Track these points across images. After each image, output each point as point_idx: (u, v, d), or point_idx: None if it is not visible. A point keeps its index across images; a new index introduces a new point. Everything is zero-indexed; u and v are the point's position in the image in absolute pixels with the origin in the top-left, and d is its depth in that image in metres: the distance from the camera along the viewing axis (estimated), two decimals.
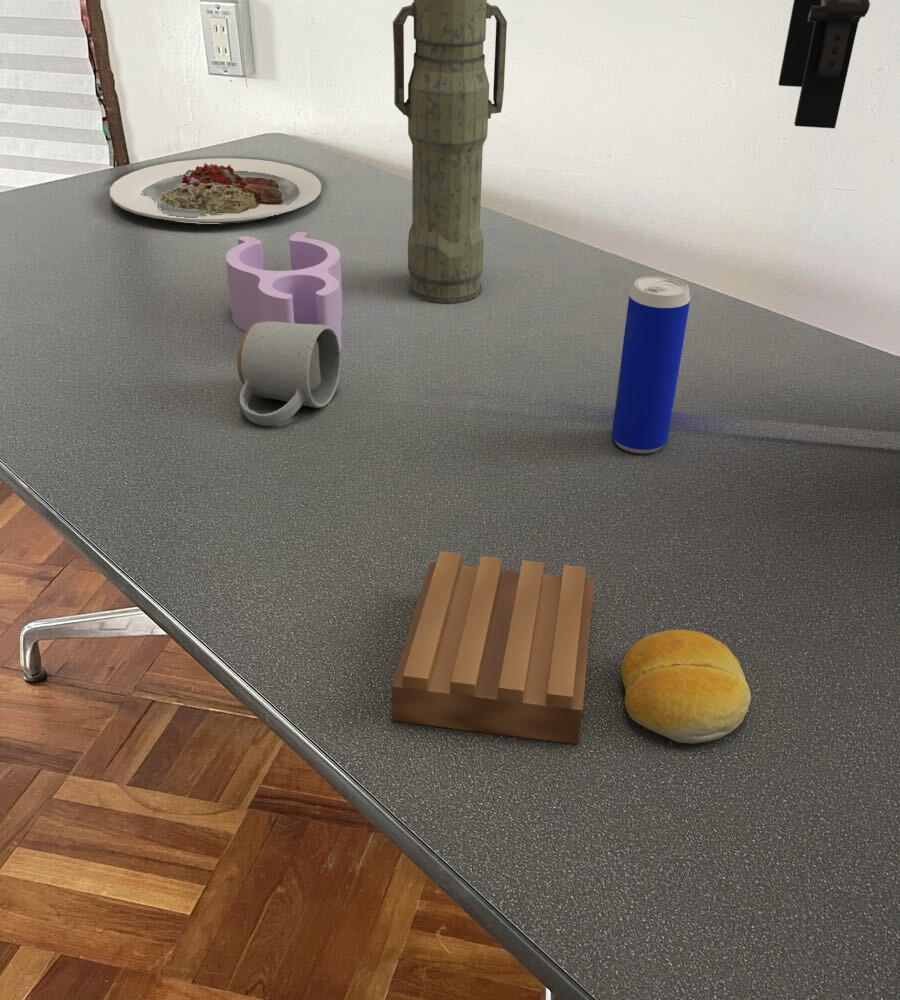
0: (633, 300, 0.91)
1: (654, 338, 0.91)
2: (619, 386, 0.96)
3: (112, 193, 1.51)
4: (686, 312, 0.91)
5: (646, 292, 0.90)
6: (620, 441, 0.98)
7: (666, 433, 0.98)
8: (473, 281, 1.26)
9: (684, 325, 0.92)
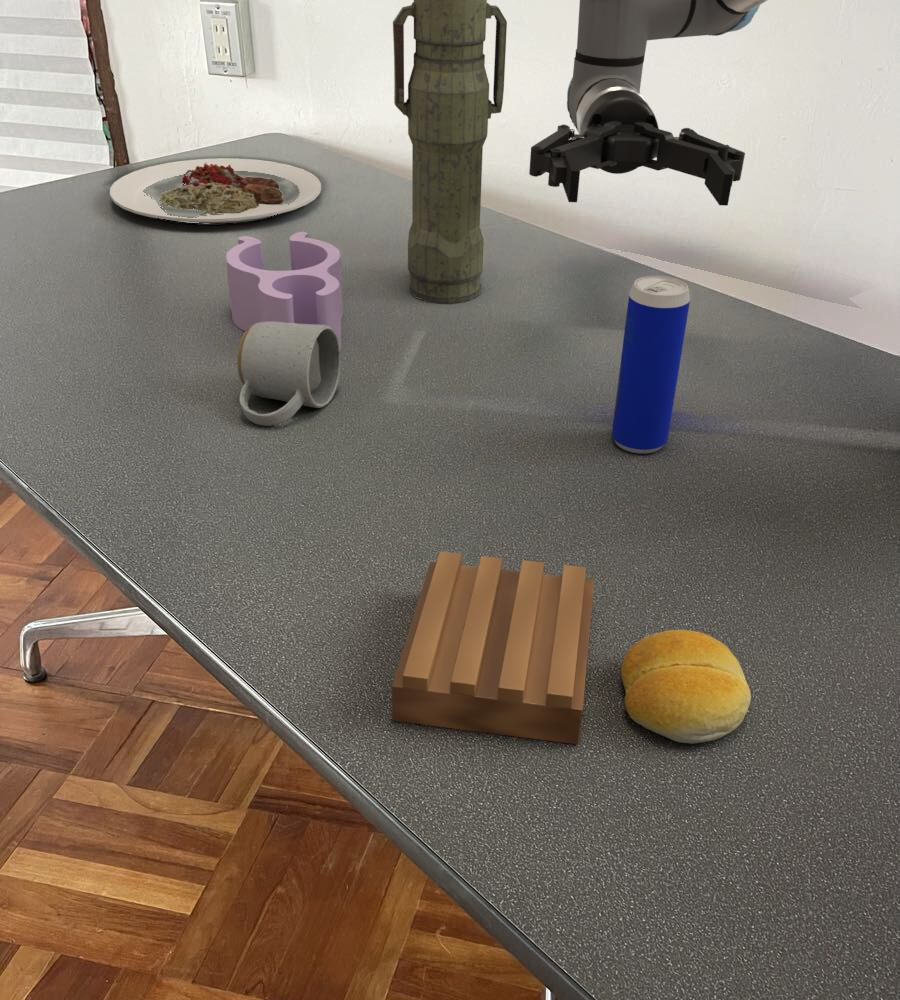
0: (633, 300, 0.91)
1: (654, 338, 0.91)
2: (619, 386, 0.96)
3: (112, 193, 1.51)
4: (686, 312, 0.91)
5: (646, 292, 0.90)
6: (620, 441, 0.98)
7: (666, 433, 0.98)
8: (473, 281, 1.26)
9: (684, 325, 0.92)
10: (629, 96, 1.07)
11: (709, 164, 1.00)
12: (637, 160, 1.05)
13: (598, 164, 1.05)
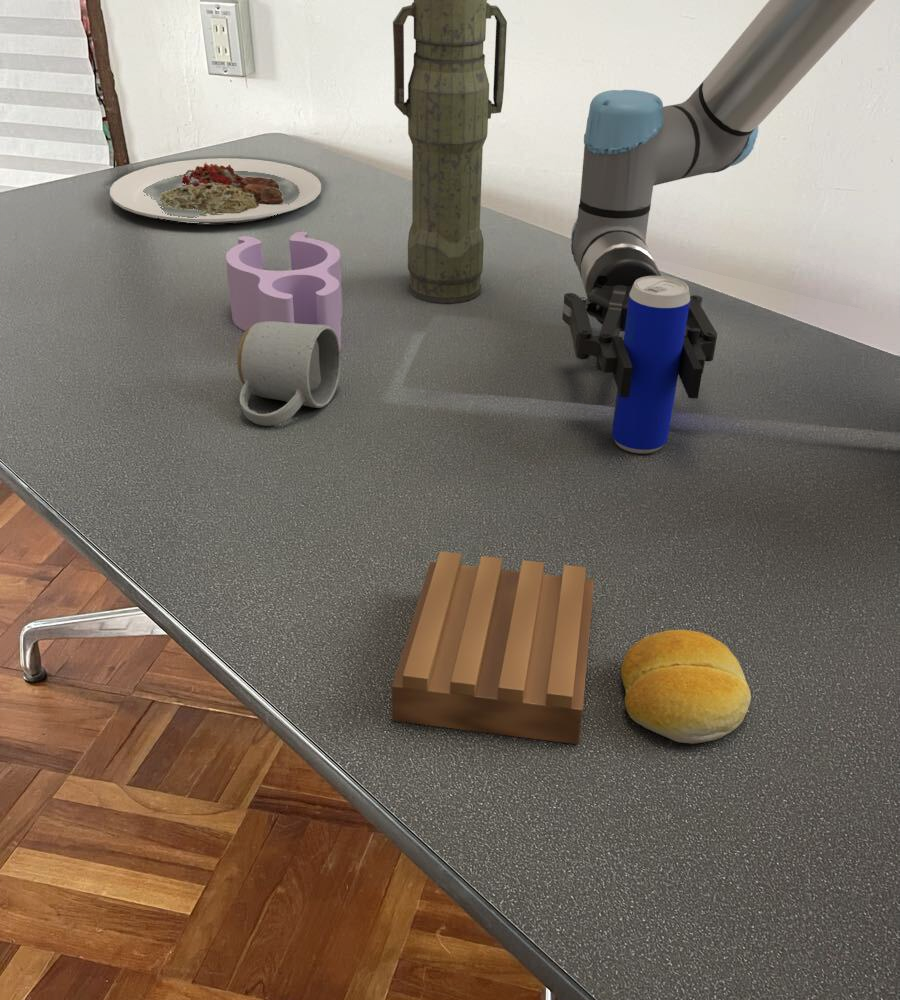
0: (633, 301, 0.91)
1: (654, 338, 0.91)
2: None
3: (112, 193, 1.51)
4: (686, 312, 0.91)
5: (646, 292, 0.90)
6: (620, 441, 0.98)
7: (666, 433, 0.98)
8: (473, 281, 1.26)
9: (684, 325, 0.92)
10: (635, 258, 1.04)
11: None
12: None
13: (618, 333, 1.02)
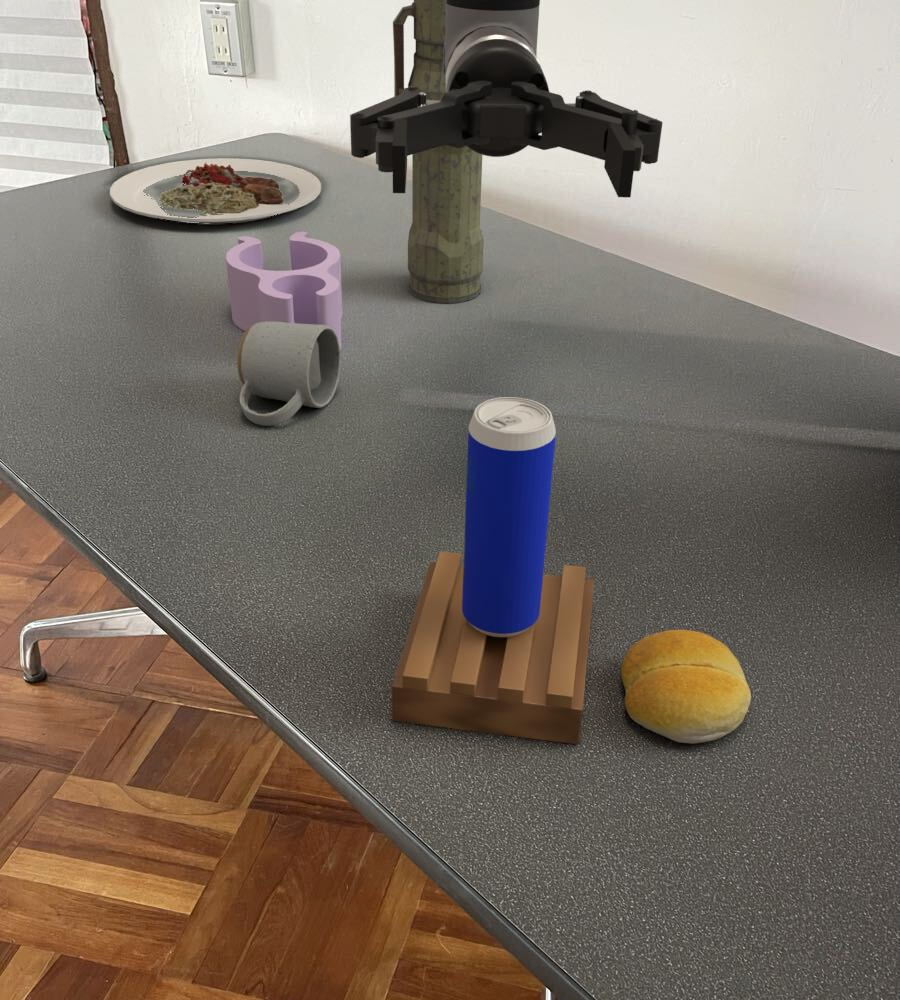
0: (472, 437, 0.62)
1: (503, 491, 0.63)
2: (465, 547, 0.68)
3: (112, 193, 1.51)
4: (549, 453, 0.63)
5: (488, 427, 0.61)
6: (470, 620, 0.70)
7: (534, 610, 0.69)
8: (473, 281, 1.26)
9: (548, 470, 0.63)
10: (506, 46, 0.76)
11: (608, 138, 0.68)
12: (514, 135, 0.74)
13: (458, 141, 0.74)
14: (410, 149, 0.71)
